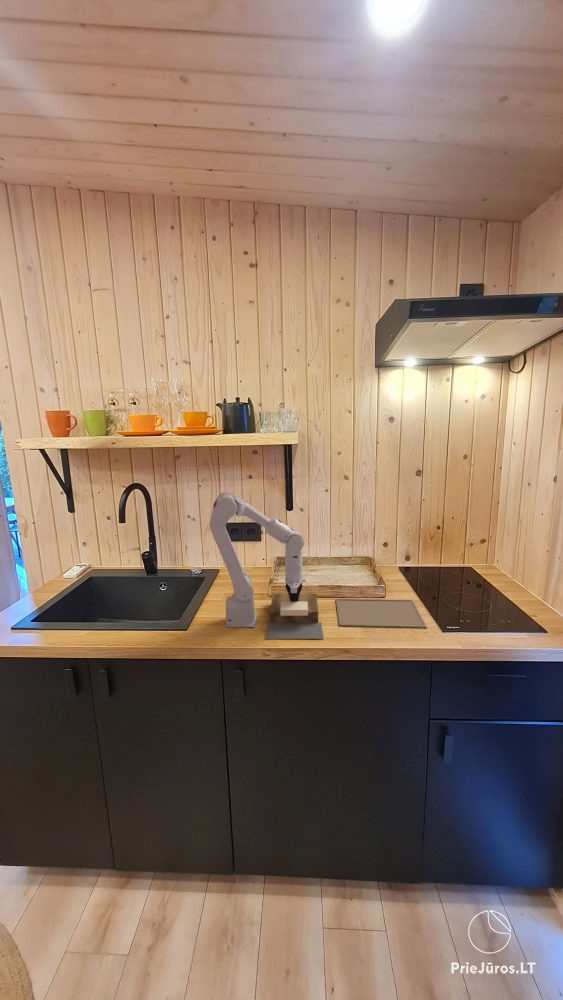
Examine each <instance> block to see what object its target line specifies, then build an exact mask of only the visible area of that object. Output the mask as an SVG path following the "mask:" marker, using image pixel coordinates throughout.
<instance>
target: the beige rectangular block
mask: <svg viewBox="0 0 563 1000" xmlns="http://www.w3.org/2000/svg"><path fill="white" fill-rule="evenodd" d="M280 616H308V603H307V602H281V607H280Z"/></svg>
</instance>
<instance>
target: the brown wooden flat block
mask: <svg viewBox="0 0 563 1000" xmlns="http://www.w3.org/2000/svg"><path fill="white" fill-rule="evenodd" d="M271 596H272V597H271V603H270V610H269V614H270V615H269V616H270V617H269V619H270V621H269V622H319V605H318V596H317V593H300V594H299V599H298V602H307V603H308V616H280V607H281V602H290V597H289V594H288V593H272V595H271Z"/></svg>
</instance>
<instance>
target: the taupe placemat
mask: <svg viewBox="0 0 563 1000" xmlns="http://www.w3.org/2000/svg"><path fill="white" fill-rule="evenodd" d="M335 606H336V612H337V618H338V619H337V620H338V627H342V628H343V627H346V628H348V627H349V628H351V627H352V628H391V629H392V628H395V629H397V628H398V629H399V628H400V629H401V628H402V629H427V628H428V626H427V624H426V623H425V621H424V618H423V617H422V615H421V613H420V611H419V610H418V608H417V606H416V604H415V602H414V600H413V599H391V598H390V599H389V598H388V599H386V598H385V599H384V598H383V599H382V598H380V599H379V598H378V599H377V598H376V599H375V598H335Z"/></svg>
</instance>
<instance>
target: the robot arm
mask: <svg viewBox="0 0 563 1000" xmlns="http://www.w3.org/2000/svg"><path fill="white" fill-rule="evenodd" d="M212 505H213V506H212V511H211V514H210V515H211V516H210V519H209V524H208V526H209V530H210V531H211V535H212V537H213V539H214V541H215V544H216V546H217V549H218V550H219V553H220V556H221V558H222V560H223V563H224V565H225V567H226V570H227V572H228V574H229V578H230V579H231V583H232V587H233V593H232V595H231V596H227V597H226V598H225V623H226V624H225V627H226V628H255V626H256V621H257V617H258V614H255V599H254V598H255V594H254V588H253V585H252V579H251V577H250V576H249V575H248V574H247V573H246V572H245V570H244V568H243V566H242V564H241V562H240V559H239V557H238V554H237V552H236V550H235V546H234V545H233V543H232V540H231V538H230V535H229V532H228V531H227V527H226V526H227V524H228V522H229V520H230V519H232V517H234V516H236V517H243V516H244V517H247V518H248V519H250V520H251V521H253V522H255V523H256V524H258V525H259V526H262V527H263V528H264V530H265V533H266V534H267V535H269V536H270V537H272V538H273V539H275V540H276V541H278V542H279V543H281V544H284V545H285V546H284V547H285V548H284V549H285V552H284V564H285V565H284V569H285V570H284V571H285V574H284V576H285V578H284V582H285V590H286V591H287V594H289V597H290V602H298V599H299V594H301V591H302V590H303V582H307V580H306V577H304V576H303V551H302V550H303V548H304V546H305V542H304V539H303V536H301V534H300V532H298V531H297V530H296V529H295V528H294V527H292V526H291V527H289V526H288V525H287V524H285V523H284V522H283V521H284V520H282V519H281V518H276V517H275V518H274V517H273V518H269V517H267V516H266V515H265V514H263V513H262V512H260V511H259V510H258V509H256V508H255V507H253V506H252V505H251V504H249V503H248V502H247V501H245V500H243V499H242V498H239V496H238V497H237V496H234V494H232V493H230V492H226V491H225V492H221V493H220V494H219V495H217V497H216V499H215V501H214V502H213V504H212Z"/></svg>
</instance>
